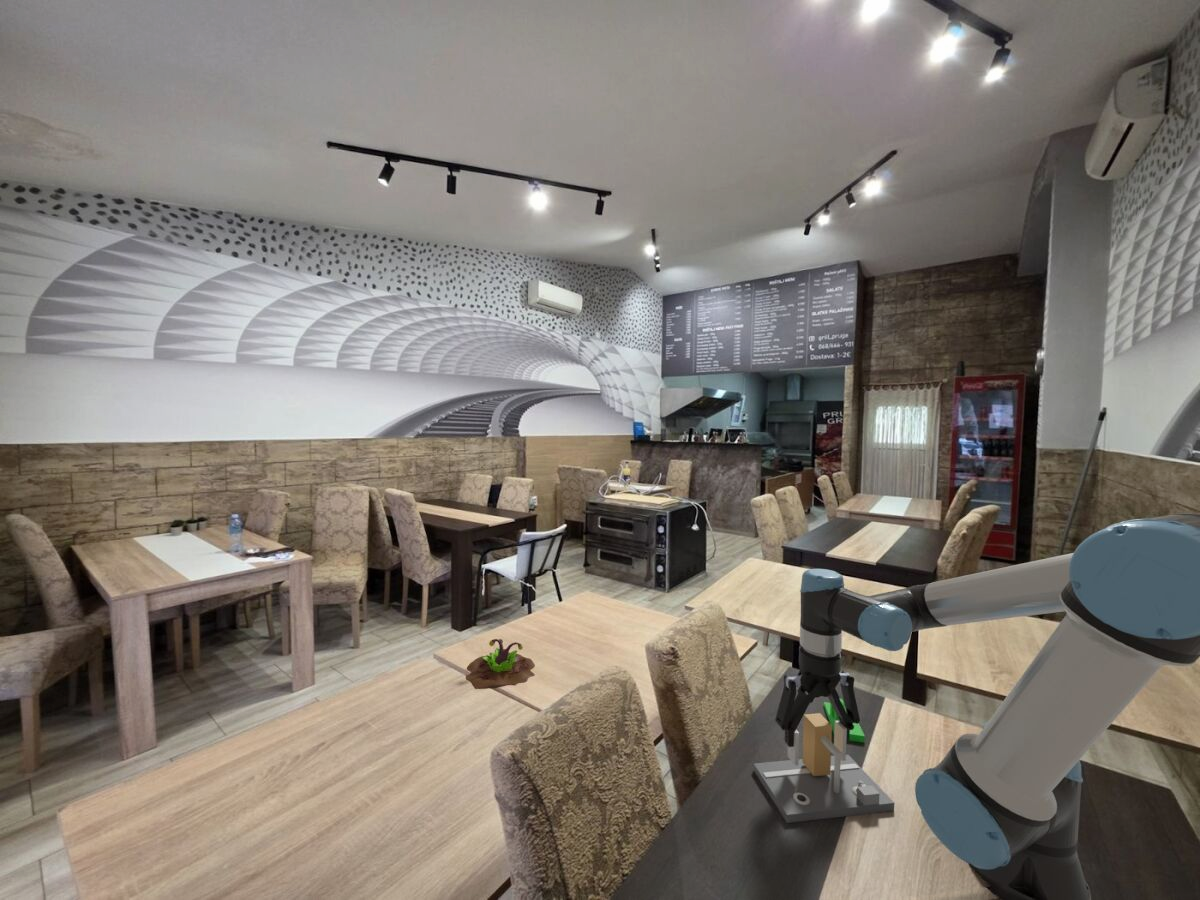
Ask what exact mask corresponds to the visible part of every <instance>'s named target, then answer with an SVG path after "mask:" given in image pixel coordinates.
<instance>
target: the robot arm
mask: <svg viewBox="0 0 1200 900" xmlns="http://www.w3.org/2000/svg"><path fill="white" fill-rule="evenodd" d="M799 592H800V623H799V627H800V628H799V648H798V665H799V671H798V673H797V675H795V676H790V675H789V674H785V675H784V676H783V684H784V685H783V688H782V689H783V690H782V693H781V697H780V701H779V704H778V707H777V712H776V716H775V719H774V720H775V723H776V724H777V725H778V727H779V728H780V729H781V730H782V731H784V738H783V741H784V743H785V744H786V745H787V757H788V759H789V760H791V761H792V762H793V764H794V765H798V762H799V758H800V731H799V730H797V729H798V726H799V725H800V722H801V720H802V718H804V714H805V713H806V711H807V709H808V707H809V706H810V704H811V703H813V702H814V701H815V699H816V698H820V697H823V698H825V697H826V698H828V700H829V703H830V702H831V704H832V706H833V708H834V710H835V712H836V714H837V716H838V718H839V720H840V722H839V721H835V729H834V733H833V744H834V745H835V746H836V747H837V748H838V749H839V750H840V751H841V753H842V758H841V760H842V761H845V760H846V755H847V742H849V741H850V740H849V738H850V730H853V729H854V725H853V723H856V724H858V723H860V722H861V720H860V713H859V709H858V704H857V698H856V695H855V694H856V693H855V691H854V686H855V678H854V677H853V675H851V674H850V673H849V672H847V671H846V670H842V671H841V665H842V654H841V652H842V649H843V647H842V645H843V644H842V643H843V641H842V639H843V632H844V633H847V634H849V635H851V636H853V637H855V638H857V639H859V640H861V641H863V642H865V643H867V644H869V645H870V646H873V647H876V648H880V649H883V650H885V651H889V652H897V651H900V650H902V649H903V648H904V645H907V644H908V642H909V641H910V639H911V635H912V632H917V631H921V630H928V629H935V628H943V627H944V628H945V627H948V626H949V627H950V626H954V625H962V624H963V625H964V624H972V623H981V622H986V621H987V622H988V621H995V620H996V621H998V620H1005V619H1011V618H1012V619H1013V618H1021V617H1022V618H1023V617H1028V616H1037V615H1044V614H1046V615H1047V614H1053V613H1062V612H1065V613H1066V614H1065V616H1064V617H1063V619H1061V621H1060V622H1059V624H1058V625H1057V626H1056V628H1055V630H1054V631H1052V633H1051V635H1050V637H1049V638H1048V639H1047V640H1046V642H1045V643H1044V645H1043V646H1042V647H1041V649H1040V650H1039V651H1038V653H1036V655H1035V657H1034V658H1033V660H1032V661H1031V663H1030V664H1029V665H1028V666H1027V668H1026V669H1025V671H1024V672H1023V673H1022V675H1021V676H1020V677H1019V679H1018V680H1017V681H1016V683H1015V684H1014V686H1013V687H1012V689H1011V690H1010V692H1009V693H1008V694H1007V695H1006V696H1005V698H1004V700H1003V701H1002V702H1001V704H1000V705H999V706H998V708H997V709H996V710H995V712H994V713H993V714H992V716H991V718H990V719H988V721H986V722H984V723H983V725H982V729H981V731H980V732H979V734H978V733H964V734H962V735H961V736H959V737H958V738H957V739H956V741H955V742H954V744H953V745H952V747H951V748H950V749H949V750H948V752H947V753H946V755H945V756H944V757H943V759H942V760H941V761H940V762H939V763H938V764H937V765H935V766H934V767H932V768H927V769H925V770H924V771H923V772H922V774H920V775H919V776H918V778H917V779H916V782H915V787H914V792H915V799H916V803H917V805H918V806H919V809H920V814H921V816H922V817H923V819H924V821H925V822H926V823H925V824H927V826H928V828H929V829H930V830H931V832H932V833H933V834H934V836H935V837H936V838H937V839H938V840H939V842H941V844H942V845H943V846H945V848H947V850H949V852H951V853H952V854H953V855H954V856H956V857H957V858H959V859H960V860H961V861H963V862H965V863H967V864H969V865H970V866H971V867H972V868H973V870H974V871H975V873H977V874H978V876H979V877H981V879H982V880H983V881H984V882H986V884H988V885H987V886H986V888H987V889H988V890H989V891H990V892H992V893H993V894H994V895H995V896H996V897H998V898H1000V899H1001V900H1092V894H1091V889H1090V887H1089V885H1088V883H1087V880H1086V878H1085V876H1084V873H1083V869H1082V865H1081V861H1080V858H1079V855H1078V839H1079V837H1078V835H1079V826H1080V825H1079V823H1080V822H1079V821H1080V808H1081V794H1082V793H1081V791H1082V783H1083V782H1084V778H1083V777H1082V763H1081V761H1080V760H1081V758H1082V757H1083V756H1084V755H1086V753H1087V752H1088V751H1089V750H1090V749H1091V747H1092V746H1093V745H1094V744H1096V741H1098V740H1099V738H1100V737H1101V736H1102V735H1103V734H1104V733H1105V731H1106V730H1107V729H1108V728H1109V727H1110V726H1111V725H1112V724H1113V723H1114V721H1115V720H1116V719H1117V718H1118V717H1119V716H1120V714H1121V713H1122V712H1123V711H1124V710H1125V709H1126V708H1127V707H1128V705H1129V704H1130V703H1131V702H1132V701H1133V700H1134V698H1135V697H1136V696H1137V695H1138V694H1139V693H1140V692H1141V691H1142V690H1143V688H1144V687H1145V686H1146V685H1147V684H1148V683H1149V682H1150V681H1151V680H1152V679H1153V677H1154V676H1155V675H1156V673H1158V671H1160V669H1161V668H1162V667H1163V666H1169V667H1170V666H1171V667H1172V666H1173V667H1174V666H1175V667H1176V666H1177V667H1189V666H1193V664H1195V663H1196V661H1197V660H1198V659H1199V658H1200V513H1174V514H1166V515H1161V516H1156V517H1151V518H1136V519H1128V520H1125V521H1121V522H1117V523H1112V524H1110V525H1108V526H1106V527H1104V528H1100V529H1098V531H1096V532H1094V533H1093V534H1091V535H1089V536H1088V537H1087V538H1085V539H1084V540H1083V541H1082V542H1081V543H1080V544H1079V545H1078V546H1077V547H1076V549H1075V550H1074V552H1072V553H1070V552H1069V553H1067V554H1061V555H1056V556H1052V557H1047V558H1043V559H1038V560H1033V561H1028V562H1024V563H1018V564H1015V565H1010V566H1004V567H1001V568H994V569H991V570H987V571H982V572H976V573H971V574H967V575H962V576H957V577H953V578H947V579H944V580H943V579H942V580H937V581H933V582H931V583H924V584H916V585H911V586H907V587H904V588H901V589H896V590H892V591H887V592H883V593H877V594H872V595H864V594H862V593H858V592H854V591H852V590H850V589H848V588H846V587H845V583H844V576H843V575H842V574H841V573H839V572H837V571H835V570H832V569H827V568H809V569H807V570H804V572H803V573H802V576H801V584H800V590H799ZM839 683H840V684H839ZM799 685H800V686H799ZM838 685H840V690H841V692H842V700H843V702H844V706H845V709H846V711H845V709H844V707H843V705H842V703H841V701H840V699H841V698H840V697H841V696H840V695H839V693H838V691H837V689H836V687H837V686H838Z"/></svg>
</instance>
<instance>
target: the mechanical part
mask: <svg viewBox="0 0 1200 900" xmlns="http://www.w3.org/2000/svg"><path fill="white" fill-rule="evenodd" d="M839 699H840V701H841V703H842V705H843V707H844V709H845V704H844V699H843V698H839ZM823 708H824V710H825V713H826V717H827V719H828V722H829V723H830V724H831V725H832V733H833V734H834V729H835V721H839V722H840V720H839V718H838V716H837V714H836V712H835V710H834V708H833V706H832V704H831V702H830V701H829V702H826V701H824V702H823ZM845 711H846V709H845ZM859 723H860V722H859ZM859 723H858V724H856V723H853V725H854V729H853V730H850V738H849V741H851V742H856V743H857V742H858V743H866V742H865V739H866V736H865V733H864V732H863V729H862V727H861V726H860V724H859Z"/></svg>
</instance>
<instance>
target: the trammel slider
mask: <svg viewBox="0 0 1200 900" xmlns="http://www.w3.org/2000/svg"><path fill="white" fill-rule="evenodd" d="M802 727H803V730H802V732H803V733H802V734H803V735H802V759H803V761H802V762H803V763H804V765H805V766H806V767H807V768H808V770H809V771H810V772H811V773H812V775H813V776H821V775H830V770H831V756H835V763H834V792H835V793H840V764H841V758H842V753H841V751H840V750H839V749H838V748H837V747H836V746H835V745H834V742H832V738H833V737H832V733H833V730H832V725H831V724H830V722H829V720H827V718H825V717H824V716H823V714H821V712H818V713H816V712H815V713H807V714H805V713H804V715H803V726H802Z"/></svg>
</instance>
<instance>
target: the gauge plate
mask: <svg viewBox="0 0 1200 900" xmlns="http://www.w3.org/2000/svg"><path fill="white" fill-rule="evenodd" d="M802 761H803V758H800V759H799V762H798V765H794V764H793V762H792V761H791V760H790V759H788V760H777V761H767V762H756V763H753V771H754V774H755V775H756V776H757V778H758V780H759V782H760V783H761V784H762V787H764V789H765V791H766V793H767V794H768V796H769V797H770V800H772V801H773V804H774V805H775V806H776V808H777V809H778V811H779V813H780V815H781V816H782V817H783V819H784V821H785V823H787V824H790V823H798V822H799V823H801V822H805V821H806V822H808V821H815V820H816V821H817V820H825V819H834V818H842V817H851V816H858V815H859V816H860V815H867V814H868V815H869V814H877V813H886V812H894V811H895V802H894V801H893V800H892V799H891V797H890V796H889V795H888V794H886V792H885V791H884V790H883V789H882V788H881V787H880V786H879V785H878V784H877V783H876V782H875V780H873V779H872V778H871V776H869V774H867V772H865V770H864V769H862V767H861V766H859V764H858V763H857V762H856V761H855V760H854V759H853V758H852V756H850V755H849V754H846V760H845V761H842V760H841V764H840V793H835V792H834V763H835V756H834V755H831V770H830V775H821V776H813V775H812V773H811V772H810V771H809V770H808V768H807V767H806V766H805V765H804V763H803V762H802Z"/></svg>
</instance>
